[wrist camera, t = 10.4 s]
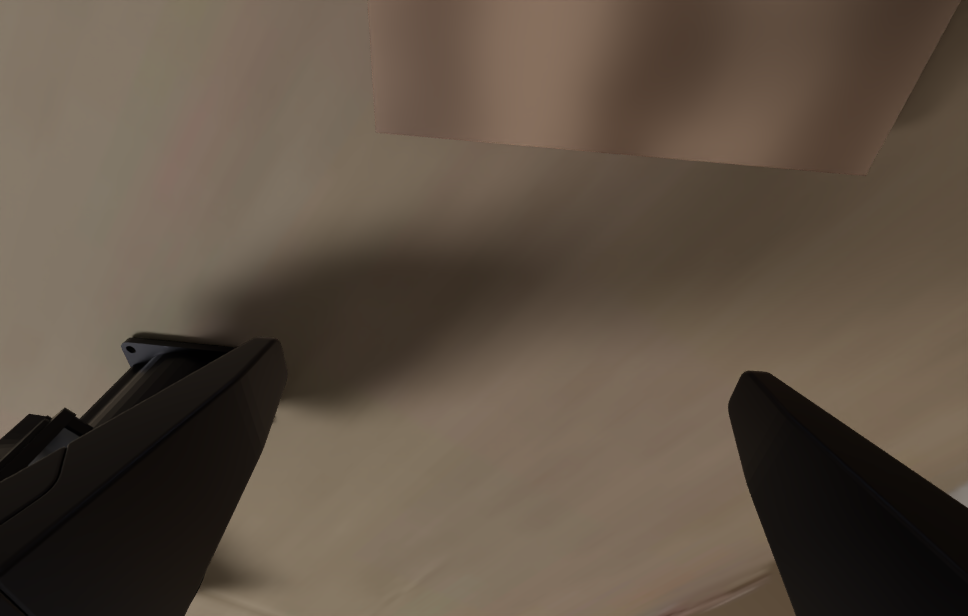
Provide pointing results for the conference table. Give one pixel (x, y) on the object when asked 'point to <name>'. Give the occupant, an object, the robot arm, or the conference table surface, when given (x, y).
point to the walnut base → (656, 75)
